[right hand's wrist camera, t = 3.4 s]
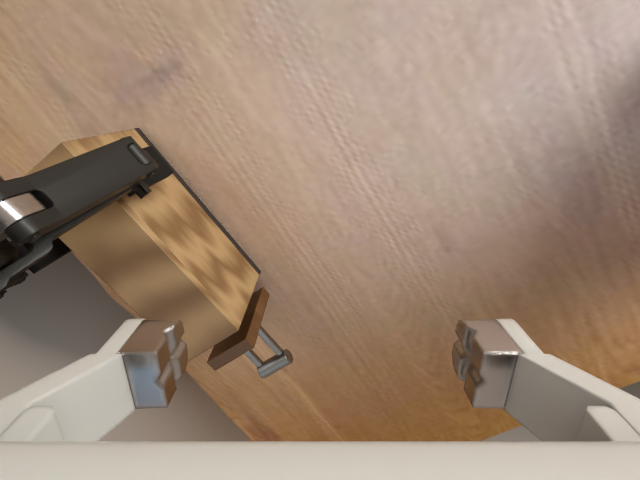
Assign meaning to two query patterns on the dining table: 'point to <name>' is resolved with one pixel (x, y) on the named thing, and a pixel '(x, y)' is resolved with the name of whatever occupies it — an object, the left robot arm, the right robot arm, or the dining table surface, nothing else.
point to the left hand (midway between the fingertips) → (117, 195)
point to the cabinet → (164, 253)
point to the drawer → (251, 341)
